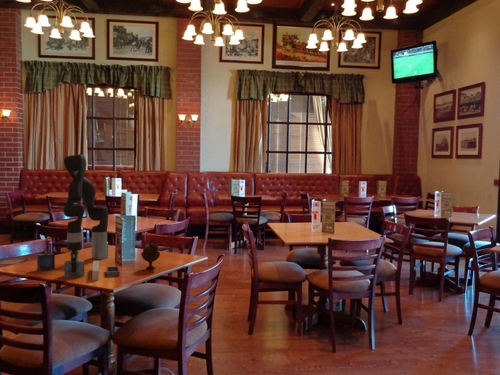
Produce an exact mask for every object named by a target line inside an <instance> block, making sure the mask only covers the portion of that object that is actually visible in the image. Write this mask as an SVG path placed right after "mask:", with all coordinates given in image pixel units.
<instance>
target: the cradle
mask: <svg viewBox="0 0 500 375" xmlns="http://www.w3.org/2000/svg"><path fill="white" fill-rule="evenodd" d="M105 268H106V277H107V278H109V277H120V273H121V272H120V266H106V267H105Z"/></svg>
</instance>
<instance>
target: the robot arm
mask: <svg viewBox="0 0 500 375" xmlns="http://www.w3.org/2000/svg"><path fill="white" fill-rule="evenodd" d="M63 163H64V167H65V169H66V171H67V172H68V174H69V176H70V177H71V179H72V180H71V182H70V184H69V186H68V189H67V190H68V191H67V200H66V203H65V205H64V207H63V215H64V216H65V217H67V218H74V217H76V219H75V220H71V221H68V222H67V231H66V232H67V233H66V249H67V250H68V251H70V254H69V255H70V261H71V265H72V272H76V265H77V263H76V262H77V261H78V260H79V250H82V249H83V247H82V246H83V243H82V242H83V235H82V222H83V217H84V214H85V211H87V214H88V217H89V219H90V220H92V221H95V222H96V221H98V222H99V224H97V225H95V226H92V227H91V259H93V260H104V259H108V258H109V242H108V226H109V225H108V224H109V210H108V207H107V206H102V205H99V206H97V205H95V203H94V199H95V197H96V193H97V191H96V188H95V186H94V183H93V182H92V181H91V180H90V179H88V178H87V177H86V176H85V175H86V170H87V160H86V157H85V155H84V154H80V153H79V154H74V155H67V156H66V157H64V159H63ZM81 201H83V203H84V204H82V203H79V202H81ZM74 261H75V263H73V262H74Z"/></svg>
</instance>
